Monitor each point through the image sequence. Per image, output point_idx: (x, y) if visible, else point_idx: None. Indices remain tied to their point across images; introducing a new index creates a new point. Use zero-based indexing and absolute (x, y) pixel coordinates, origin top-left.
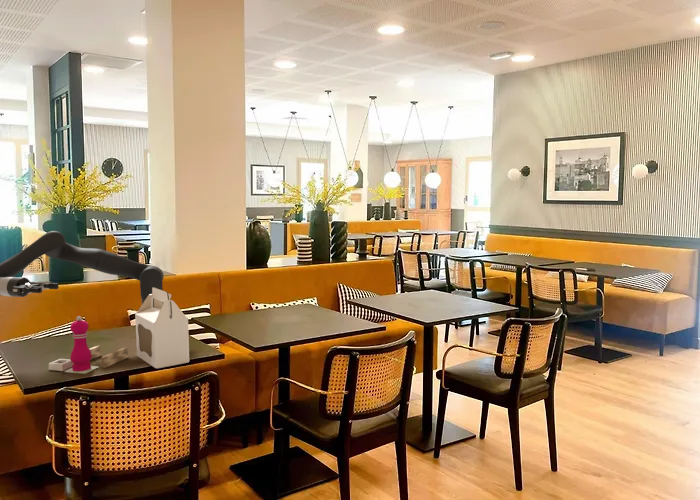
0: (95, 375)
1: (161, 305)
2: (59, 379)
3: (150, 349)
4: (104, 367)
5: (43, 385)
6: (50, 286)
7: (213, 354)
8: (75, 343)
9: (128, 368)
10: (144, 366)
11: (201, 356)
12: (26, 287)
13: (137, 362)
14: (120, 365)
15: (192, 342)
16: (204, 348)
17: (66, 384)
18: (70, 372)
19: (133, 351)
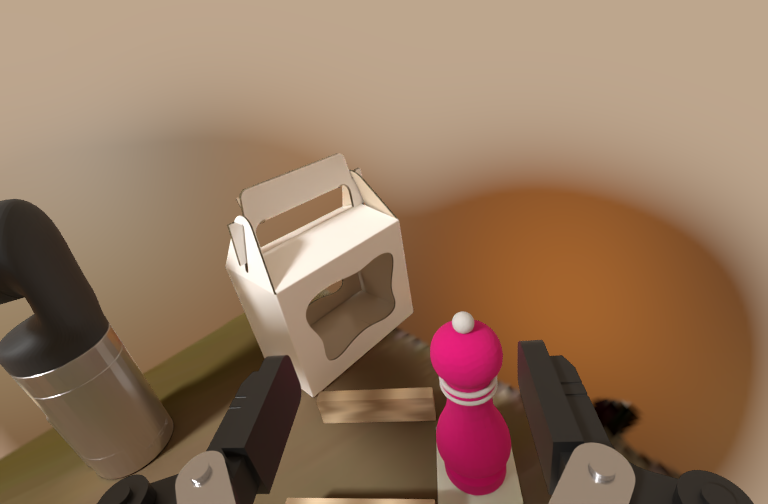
0: (505, 391)
1: (233, 253)
2: None
3: None
4: (435, 411)
5: (671, 473)
6: (268, 450)
7: None
8: (492, 402)
9: (425, 356)
10: (402, 337)
11: (321, 291)
12: (689, 473)
13: (373, 366)
14: (405, 387)
15: (196, 349)
16: None
17: (609, 411)
18: (518, 482)
19: None
